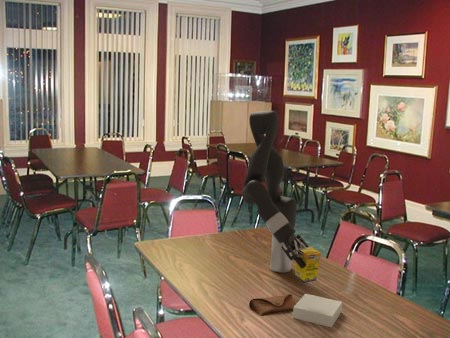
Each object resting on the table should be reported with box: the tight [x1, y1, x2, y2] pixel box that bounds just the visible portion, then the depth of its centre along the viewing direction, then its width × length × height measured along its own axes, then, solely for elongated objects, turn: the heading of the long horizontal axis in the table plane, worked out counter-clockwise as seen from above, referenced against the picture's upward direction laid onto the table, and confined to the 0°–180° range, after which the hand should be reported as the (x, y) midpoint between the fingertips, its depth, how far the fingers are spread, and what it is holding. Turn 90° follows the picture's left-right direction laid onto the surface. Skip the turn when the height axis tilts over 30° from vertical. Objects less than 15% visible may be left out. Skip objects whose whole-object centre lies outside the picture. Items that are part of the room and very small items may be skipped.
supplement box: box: [293, 246, 321, 284], centre depth 183 cm, size 6×6×11 cm
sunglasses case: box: [249, 294, 297, 317], centre depth 188 cm, size 18×7×7 cm, turn 113°
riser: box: [292, 293, 343, 328], centre depth 184 cm, size 14×14×4 cm
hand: (308, 263), depth 183 cm, fingers closed on supplement box, 8 cm apart
